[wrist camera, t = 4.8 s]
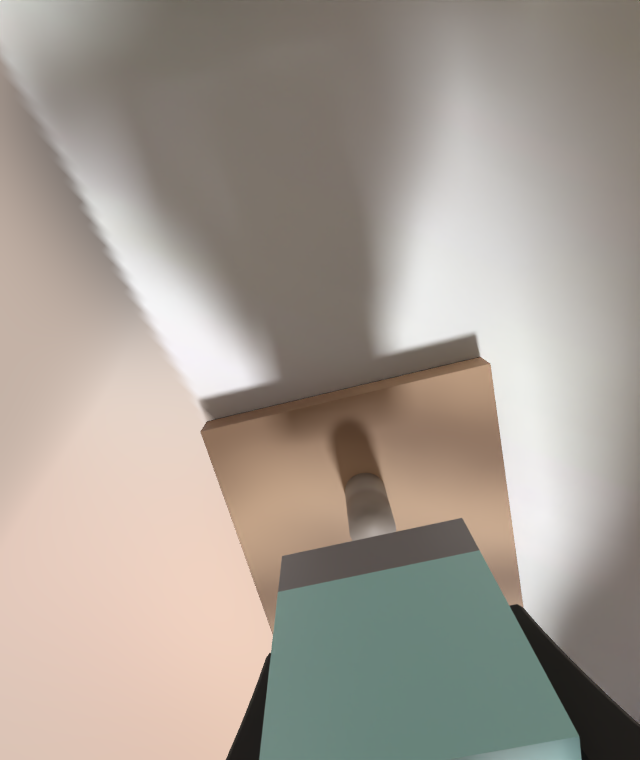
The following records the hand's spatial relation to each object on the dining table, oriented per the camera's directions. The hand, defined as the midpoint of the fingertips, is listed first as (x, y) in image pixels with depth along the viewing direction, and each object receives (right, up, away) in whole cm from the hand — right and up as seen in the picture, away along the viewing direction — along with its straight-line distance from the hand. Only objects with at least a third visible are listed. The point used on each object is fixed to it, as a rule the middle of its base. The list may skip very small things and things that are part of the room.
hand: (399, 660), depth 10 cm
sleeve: (0, +1, +1) cm, 2 cm away
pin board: (+1, -2, +9) cm, 10 cm away
